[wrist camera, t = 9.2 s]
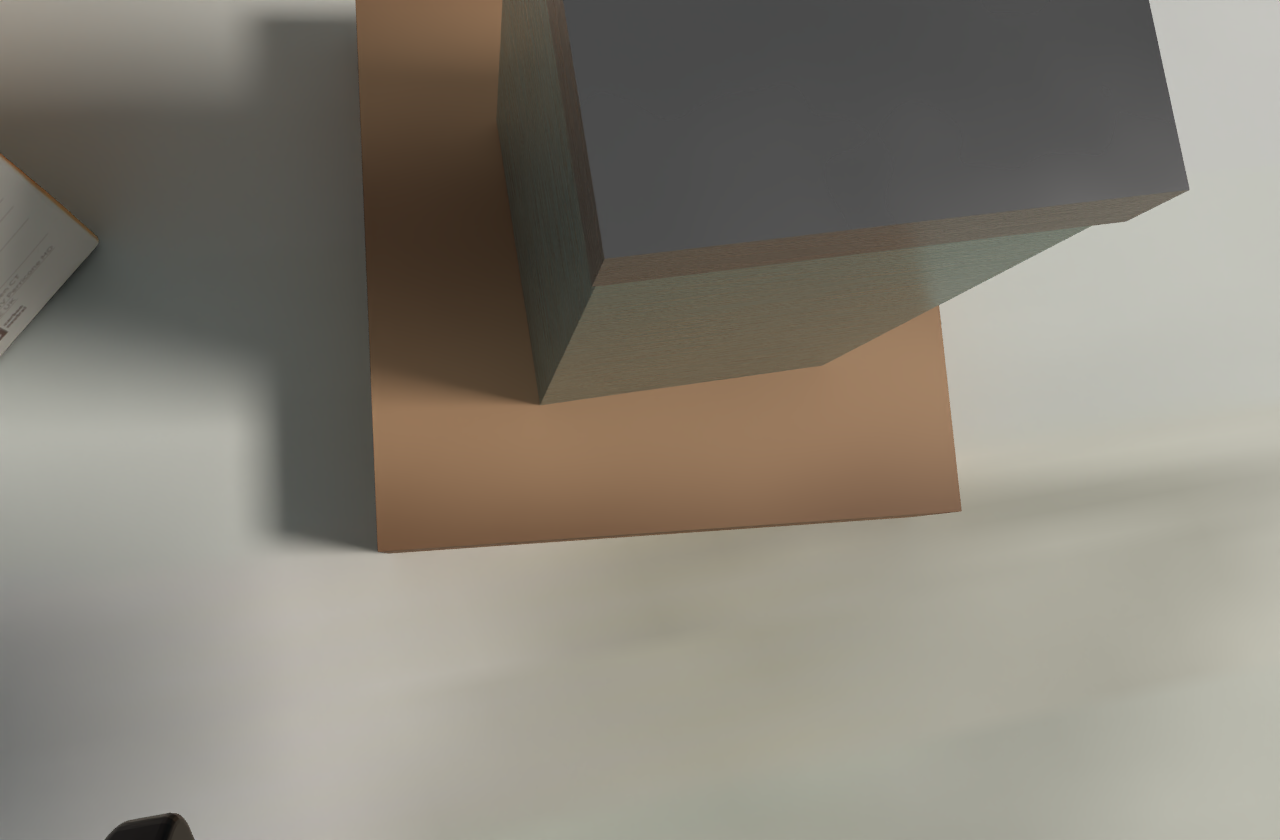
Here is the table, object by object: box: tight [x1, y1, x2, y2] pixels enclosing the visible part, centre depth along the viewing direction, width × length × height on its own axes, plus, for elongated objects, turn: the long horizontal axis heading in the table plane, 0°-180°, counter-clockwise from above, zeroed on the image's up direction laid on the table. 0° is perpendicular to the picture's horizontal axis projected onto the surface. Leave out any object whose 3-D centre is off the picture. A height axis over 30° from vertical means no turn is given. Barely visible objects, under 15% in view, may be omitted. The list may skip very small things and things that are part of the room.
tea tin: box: [496, 0, 1189, 405], centre depth 15 cm, size 6×6×10 cm
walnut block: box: [356, 0, 961, 553], centre depth 22 cm, size 11×11×3 cm
